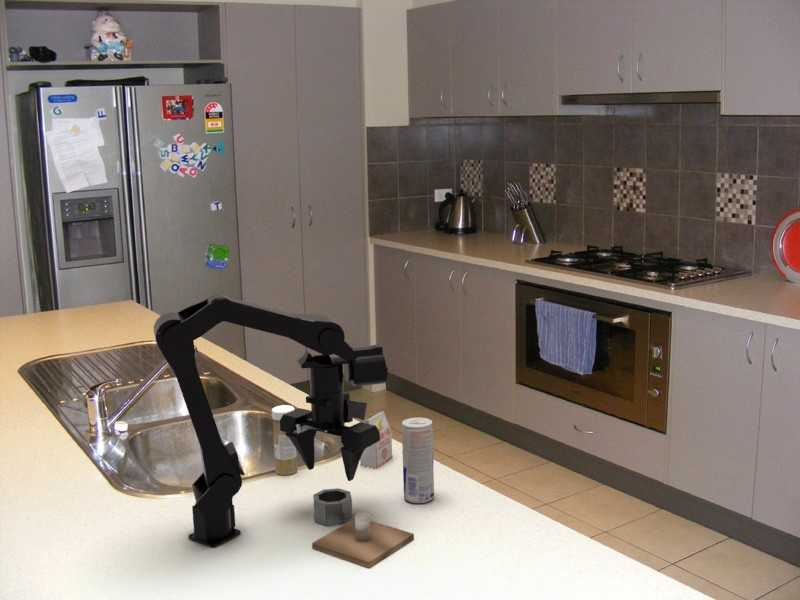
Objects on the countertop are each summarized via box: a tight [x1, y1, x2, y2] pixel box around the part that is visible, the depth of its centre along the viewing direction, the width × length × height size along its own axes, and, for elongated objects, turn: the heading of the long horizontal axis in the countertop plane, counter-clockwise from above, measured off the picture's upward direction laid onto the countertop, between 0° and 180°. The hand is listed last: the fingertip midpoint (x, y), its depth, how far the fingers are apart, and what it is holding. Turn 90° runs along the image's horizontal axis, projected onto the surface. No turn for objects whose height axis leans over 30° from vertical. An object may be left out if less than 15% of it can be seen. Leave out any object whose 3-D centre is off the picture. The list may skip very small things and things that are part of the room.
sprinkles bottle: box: [271, 404, 298, 476], centre depth 183 cm, size 5×5×14 cm
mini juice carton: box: [359, 411, 393, 470], centre depth 187 cm, size 4×7×10 cm, turn 152°
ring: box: [312, 487, 353, 527], centre depth 162 cm, size 7×7×4 cm
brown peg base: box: [311, 512, 415, 569], centre depth 152 cm, size 12×12×5 cm
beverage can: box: [401, 417, 435, 504], centre depth 168 cm, size 6×6×15 cm
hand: (330, 474), depth 161 cm, fingers open, 9 cm apart
